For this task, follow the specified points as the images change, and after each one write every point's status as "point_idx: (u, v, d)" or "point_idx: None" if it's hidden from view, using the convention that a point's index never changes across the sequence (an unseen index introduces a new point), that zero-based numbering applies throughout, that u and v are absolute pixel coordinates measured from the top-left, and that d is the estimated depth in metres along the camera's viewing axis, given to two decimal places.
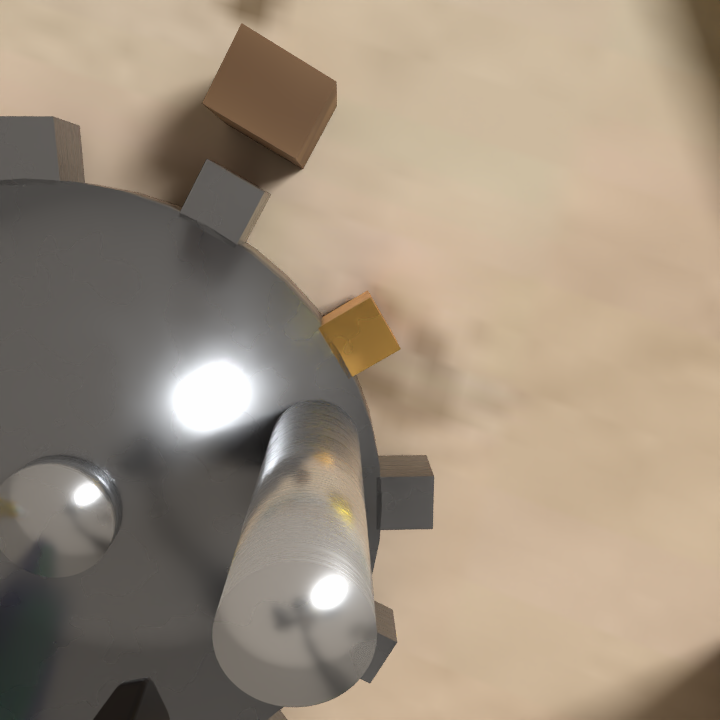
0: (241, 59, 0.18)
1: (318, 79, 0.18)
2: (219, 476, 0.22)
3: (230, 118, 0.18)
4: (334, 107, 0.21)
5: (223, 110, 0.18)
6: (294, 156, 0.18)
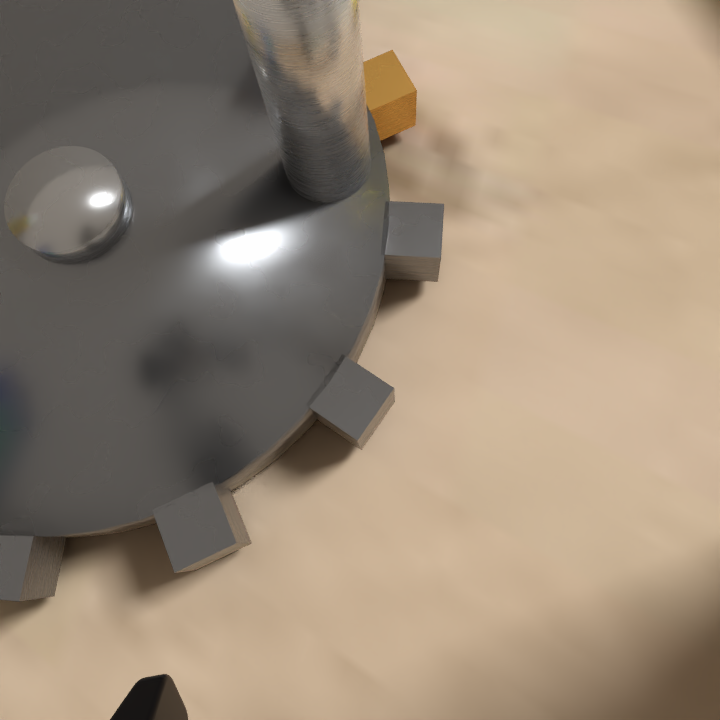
0: None
1: None
2: (231, 190, 0.22)
3: None
4: None
5: None
6: None
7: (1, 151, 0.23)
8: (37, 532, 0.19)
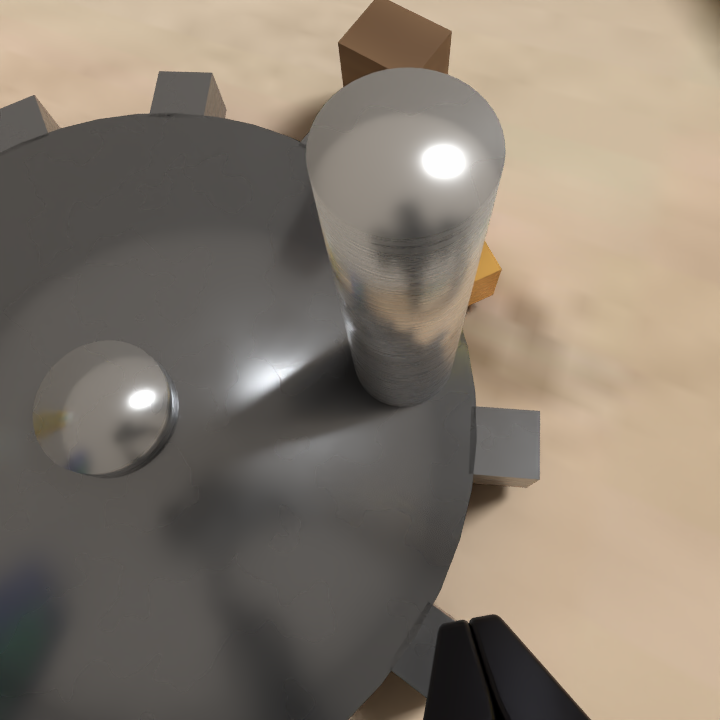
0: (374, 16, 0.22)
1: (436, 29, 0.22)
2: (292, 389, 0.19)
3: (359, 52, 0.21)
4: None
5: (354, 47, 0.21)
6: None
7: (28, 335, 0.21)
8: None
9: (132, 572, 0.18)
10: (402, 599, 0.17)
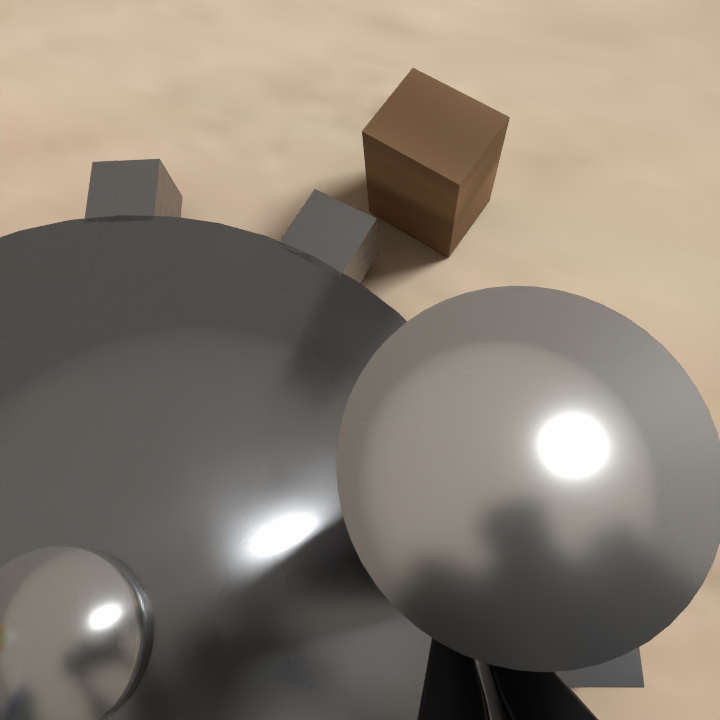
0: (409, 95, 0.17)
1: (489, 115, 0.17)
2: (302, 583, 0.15)
3: (390, 144, 0.16)
4: (489, 194, 0.20)
5: (384, 137, 0.17)
6: (458, 182, 0.16)
7: None
8: None
9: None
10: None
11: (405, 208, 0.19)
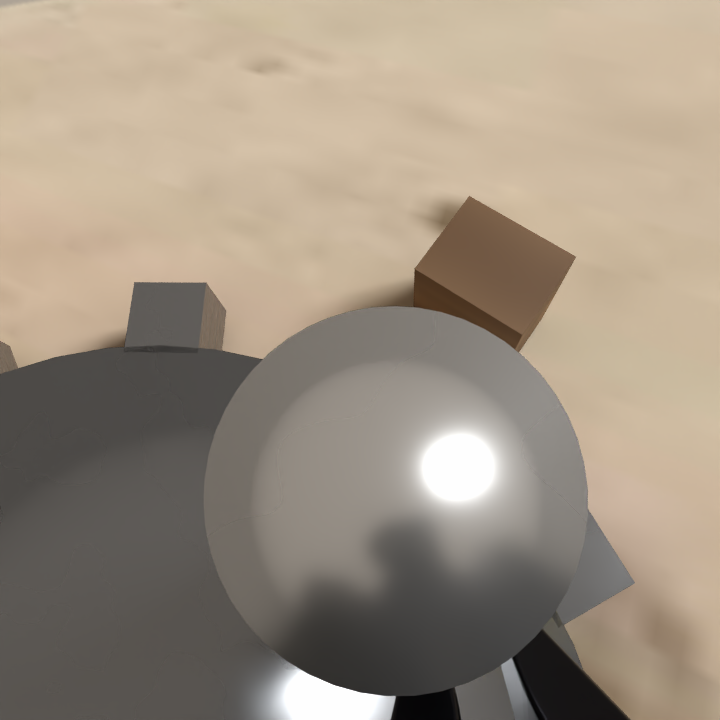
0: (465, 229, 0.16)
1: (554, 253, 0.15)
2: None
3: (446, 286, 0.15)
4: (543, 315, 0.18)
5: (438, 277, 0.15)
6: (521, 332, 0.15)
7: None
8: None
9: None
10: None
11: None
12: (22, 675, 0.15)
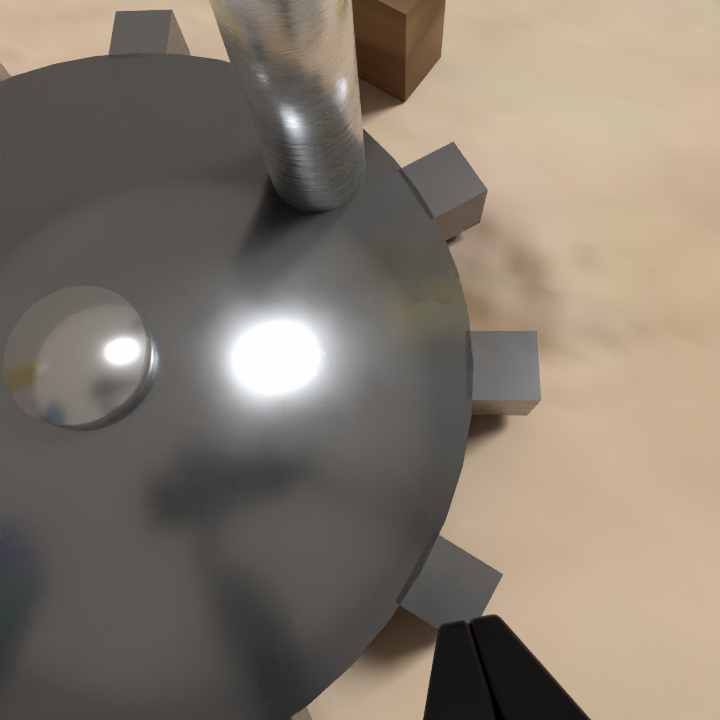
0: None
1: None
2: (240, 247, 0.19)
3: None
4: (439, 48, 0.23)
5: None
6: (405, 12, 0.20)
7: None
8: (292, 710, 0.16)
9: (201, 475, 0.17)
10: (444, 343, 0.18)
11: (367, 54, 0.23)
12: (35, 268, 0.20)
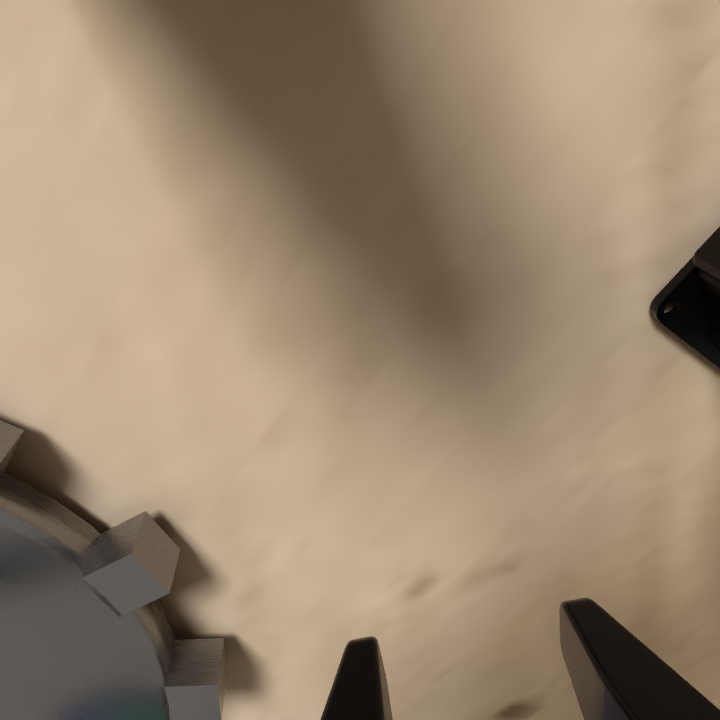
0: None
1: None
2: None
3: None
4: None
5: None
6: None
7: None
8: (77, 577, 0.20)
9: None
10: None
11: None
12: None
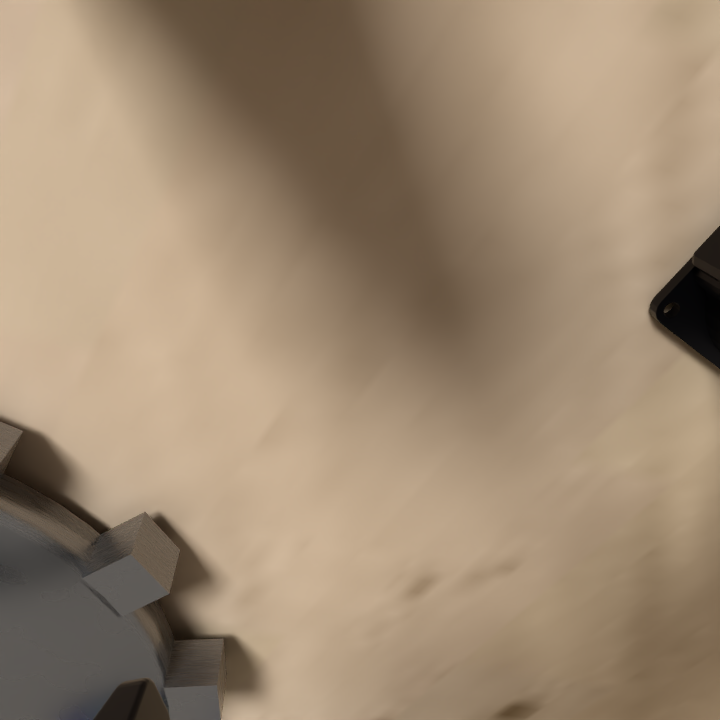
0: None
1: None
2: None
3: None
4: None
5: None
6: None
7: None
8: (76, 578, 0.20)
9: None
10: None
11: None
12: None
